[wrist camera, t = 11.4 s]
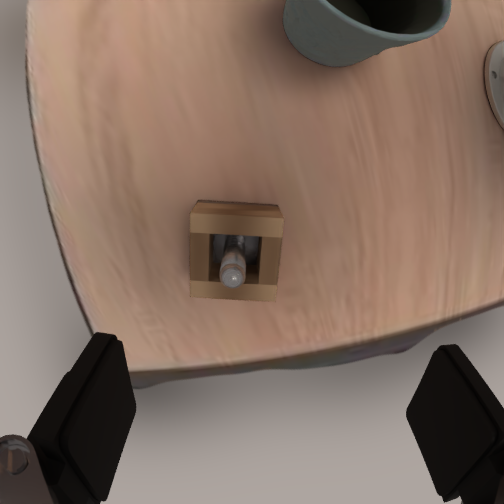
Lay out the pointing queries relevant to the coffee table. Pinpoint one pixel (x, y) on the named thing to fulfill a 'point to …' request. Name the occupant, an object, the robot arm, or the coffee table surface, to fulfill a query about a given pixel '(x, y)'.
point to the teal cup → (359, 26)
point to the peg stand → (234, 252)
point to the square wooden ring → (235, 223)
